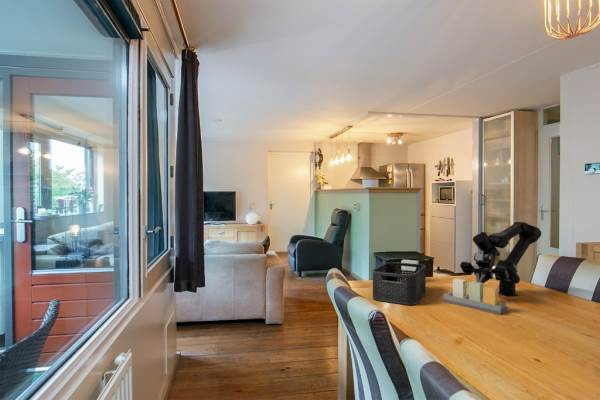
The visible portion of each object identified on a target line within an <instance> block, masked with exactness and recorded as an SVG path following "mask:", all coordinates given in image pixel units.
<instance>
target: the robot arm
mask: <svg viewBox="0 0 600 400" xmlns="http://www.w3.org/2000/svg"><path fill="white" fill-rule="evenodd" d="M517 235H518V237H519V238H518V240H517V241H516V243H515V245H514V246H513V248H512V249H511V251H510V252H509V254H508V255H507V256H506V259H505V260H503V259H499V260H498V261H497V263H495V261H496V259H497V257H499V256H500V255H501V254H500V252H499V250H498V249H504V248H505V247H507V246H508V244H509V241H510V240H512V239H513V238H514V237H516V236H517ZM541 237H542V231H541V229H540V228H539V227H537V226H534V225H532V224H529V223H527V222H525V221H515V222H514V223H513V224H511V225H510V226H508V227H507V228H505V229H504V230H502V231H500V232H494V233H491V234H489V235H488V234H487V232H485V231H481V232H480V233H477V234H476V235H474V236H473V237H472V242H473V243H474V244H475V246H476V247H477V248H478V249H479V251H481V253H479V252H475V253H474V256H473V261H474V262H475V264H474V265H473V264H472V263H471V262H469V261H462V262H460V265H459V267H460V269H461V270H462V272H463V274H469V275H472V274H474V275H475V278H476V279H475V280H476V281H475V282H480V283H483V284H485V283H486V282H488V281H489V280H493V279H495V278H496V279H495V280H496V281H499V282H498V283H499V284H498V295H502V296H506V297H514V296H519V294H518V293H516V288H517V287H516V285H517V284H519V283H520V280H521V277H520V276H519V274H518V269H517V265H518V264H519V262H520V261H521V260H522V258H523V256H524V255H525V253H526V251H527V250H528V248H529V247H530V245H532V244H534V243H536V242H537V241H538V240H539V239H540V238H541ZM495 264H496V265H495ZM493 266H496V267H495V269H492V267H493ZM494 274H495V278H493V275H494Z"/></svg>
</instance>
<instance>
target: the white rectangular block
mask: <svg viewBox="0 0 600 400" xmlns="http://www.w3.org/2000/svg"><path fill="white" fill-rule="evenodd" d="M467 287H468V286H467V279H462V278H458V277H457V278H454V279H452V292H453V296H455V297H460V298H463V297H465V296H467V295H468V293H467Z"/></svg>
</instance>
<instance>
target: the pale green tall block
mask: <svg viewBox="0 0 600 400" xmlns="http://www.w3.org/2000/svg"><path fill="white" fill-rule="evenodd" d="M483 287H484V283H480V282H476V281H474V280H473V281H472V280H471V281H469V282H468V295H469V300H474V301H481V300H483Z"/></svg>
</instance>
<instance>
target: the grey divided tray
mask: <svg viewBox="0 0 600 400" xmlns="http://www.w3.org/2000/svg"><path fill="white" fill-rule="evenodd" d="M443 302H444V303H448V304H453V305H457V306H459V307H460V306H461V307H464V308H465V307H466V308H469V309H473V310H477V311H483V312H486V313H490V314H495V315H499V316H501V315H503V314H504V313H506V312H507V311H508V310H509V307H507V301H503V302H501V303H500V304H499V303H498V306H497V305H492V304H488V303H483V300H481V301H474V300H469V294H467V296H465V297H463V298H460V297H455V296H453V291H451V292H449V293H446V294H445V293H444V294H443Z"/></svg>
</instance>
